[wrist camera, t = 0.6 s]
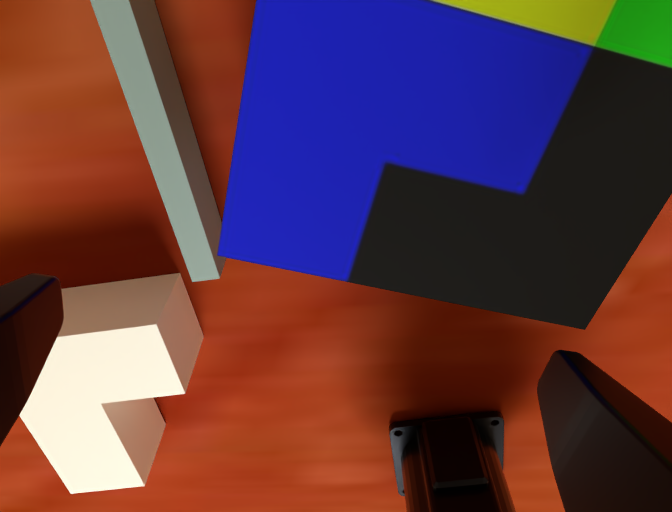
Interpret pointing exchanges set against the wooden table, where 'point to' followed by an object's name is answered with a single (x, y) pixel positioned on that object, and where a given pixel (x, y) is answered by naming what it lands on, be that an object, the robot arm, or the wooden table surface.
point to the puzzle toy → (455, 147)
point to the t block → (113, 380)
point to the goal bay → (164, 128)
